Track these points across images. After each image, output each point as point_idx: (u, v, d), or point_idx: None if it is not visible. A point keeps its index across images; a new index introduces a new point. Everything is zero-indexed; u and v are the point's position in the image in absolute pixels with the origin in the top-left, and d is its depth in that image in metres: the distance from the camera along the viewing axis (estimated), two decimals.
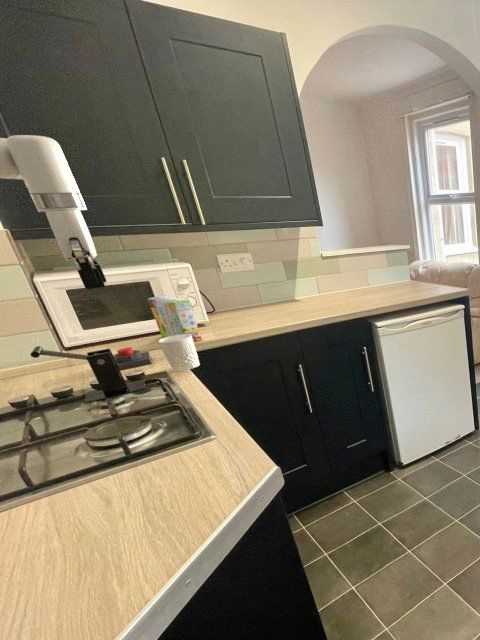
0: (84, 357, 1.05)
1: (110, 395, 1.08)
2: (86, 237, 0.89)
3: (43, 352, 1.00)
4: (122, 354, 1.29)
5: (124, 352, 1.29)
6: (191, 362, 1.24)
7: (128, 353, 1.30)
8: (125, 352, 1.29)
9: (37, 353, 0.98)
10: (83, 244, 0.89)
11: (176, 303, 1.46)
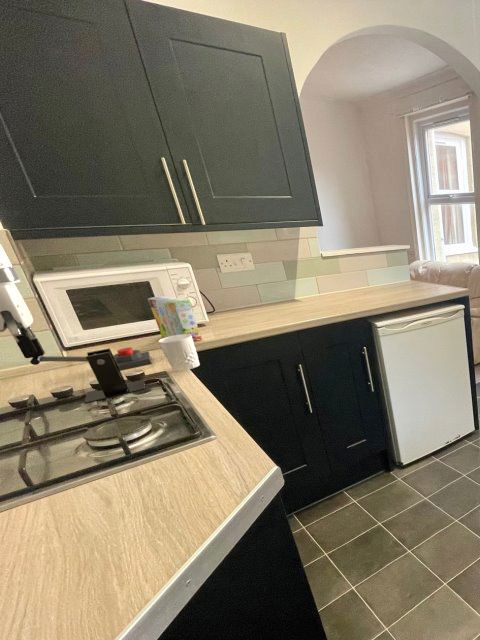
0: (84, 359, 1.05)
1: (110, 395, 1.08)
2: (18, 309, 0.93)
3: (43, 358, 1.00)
4: (122, 354, 1.29)
5: (124, 352, 1.29)
6: (191, 362, 1.24)
7: (128, 353, 1.30)
8: (125, 352, 1.29)
9: (36, 360, 0.98)
10: (15, 316, 0.92)
11: (176, 303, 1.46)
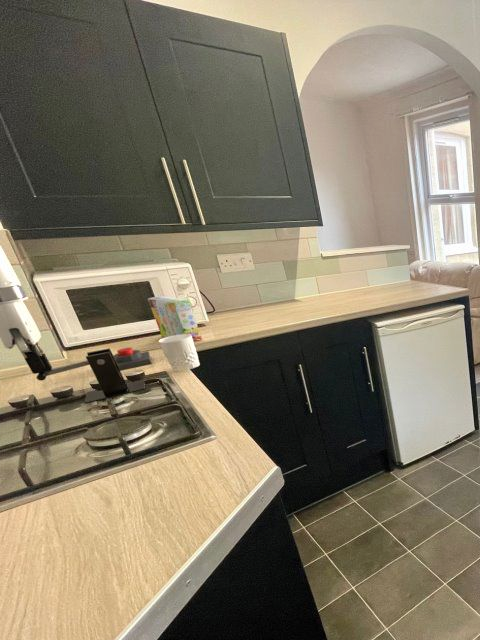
0: (85, 363, 1.05)
1: (110, 395, 1.08)
2: (26, 326, 0.94)
3: (48, 372, 1.01)
4: (122, 354, 1.29)
5: (124, 352, 1.29)
6: (191, 362, 1.24)
7: (128, 353, 1.30)
8: (125, 352, 1.29)
9: (41, 375, 0.99)
10: (23, 333, 0.94)
11: (176, 303, 1.46)
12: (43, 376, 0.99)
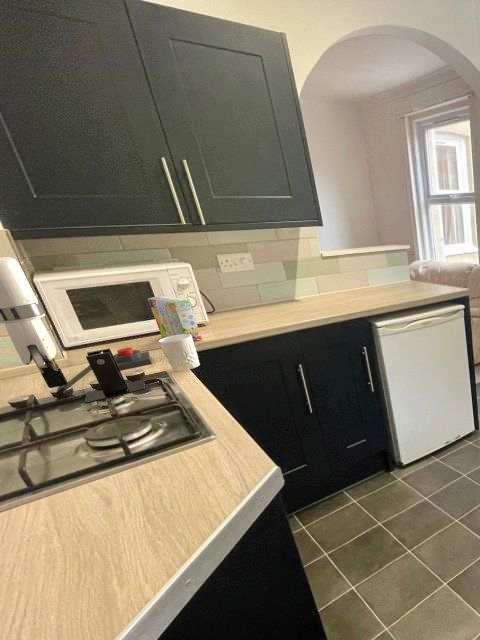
0: (90, 367, 1.06)
1: (110, 395, 1.08)
2: (43, 343, 0.97)
3: (64, 387, 1.04)
4: (122, 354, 1.29)
5: (124, 352, 1.29)
6: (191, 362, 1.24)
7: (128, 353, 1.30)
8: (125, 352, 1.29)
9: (59, 392, 1.02)
10: (40, 349, 0.96)
11: (176, 303, 1.46)
12: (61, 392, 1.02)
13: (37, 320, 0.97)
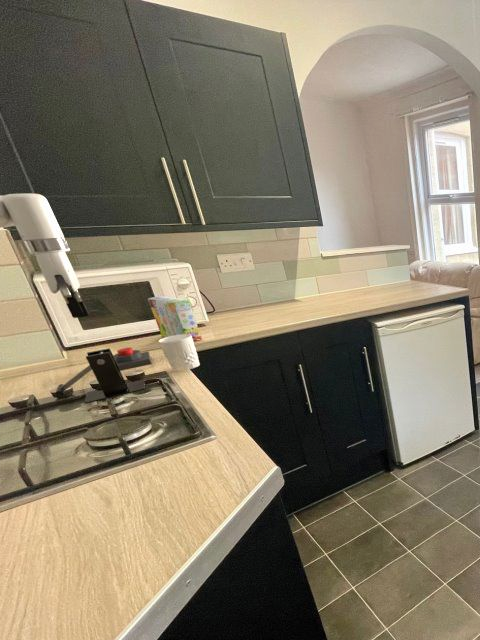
0: (90, 367, 1.06)
1: (110, 395, 1.08)
2: (68, 274, 1.08)
3: (63, 387, 1.04)
4: (122, 354, 1.29)
5: (124, 352, 1.29)
6: (191, 362, 1.24)
7: (128, 353, 1.30)
8: (125, 352, 1.29)
9: (59, 391, 1.02)
10: (66, 280, 1.07)
11: (176, 303, 1.46)
12: (60, 392, 1.02)
13: (63, 253, 1.08)
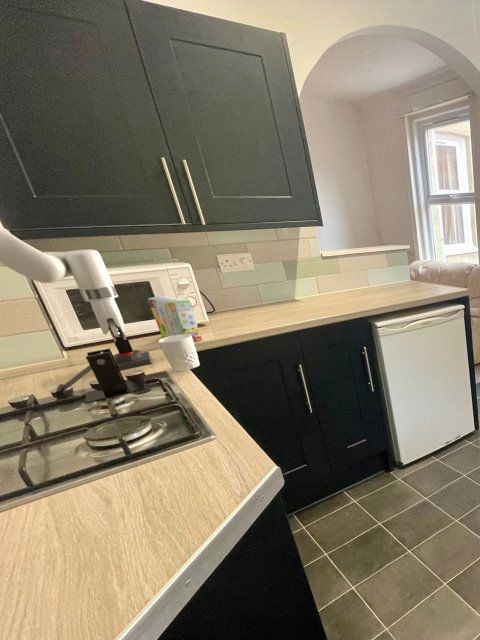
0: (90, 367, 1.06)
1: (110, 395, 1.08)
2: (118, 317, 1.24)
3: (63, 387, 1.04)
4: None
5: None
6: (191, 362, 1.24)
7: None
8: None
9: (59, 391, 1.02)
10: (116, 322, 1.23)
11: (176, 303, 1.46)
12: (60, 392, 1.02)
13: (113, 299, 1.24)
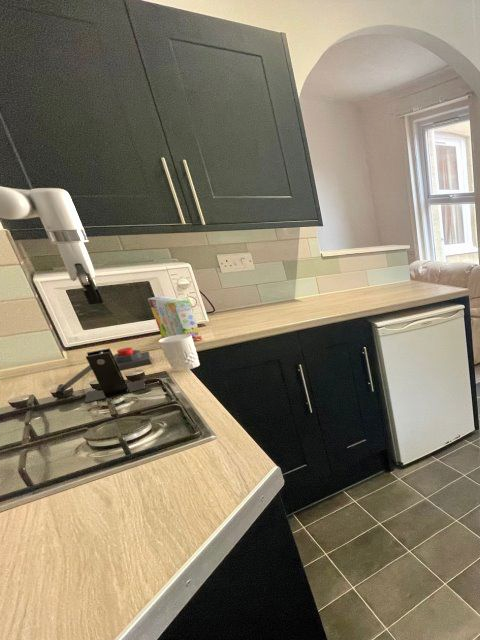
0: (90, 367, 1.06)
1: (110, 395, 1.08)
2: (87, 263, 1.16)
3: (63, 387, 1.04)
4: (122, 354, 1.29)
5: (124, 352, 1.29)
6: (191, 362, 1.24)
7: (128, 353, 1.30)
8: (125, 352, 1.29)
9: (59, 391, 1.02)
10: (85, 268, 1.16)
11: (176, 303, 1.46)
12: (60, 392, 1.02)
13: (82, 244, 1.17)
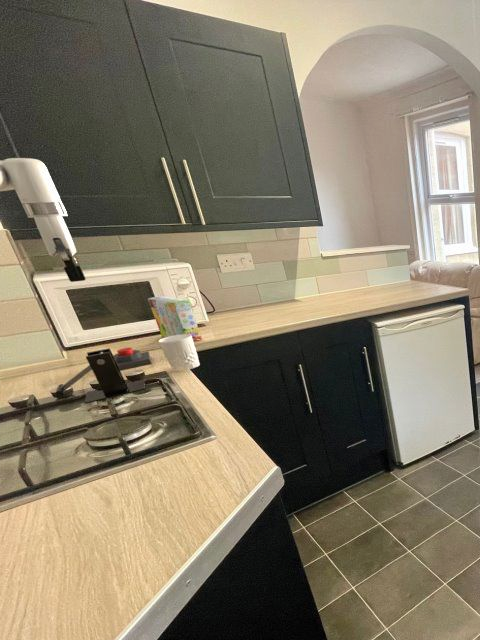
0: (90, 367, 1.06)
1: (110, 395, 1.08)
2: (66, 237, 1.12)
3: (63, 387, 1.04)
4: (122, 354, 1.29)
5: (124, 352, 1.29)
6: (191, 362, 1.24)
7: (128, 353, 1.30)
8: (125, 352, 1.29)
9: (59, 391, 1.02)
10: (64, 243, 1.12)
11: (176, 303, 1.46)
12: (60, 392, 1.02)
13: (61, 218, 1.12)
